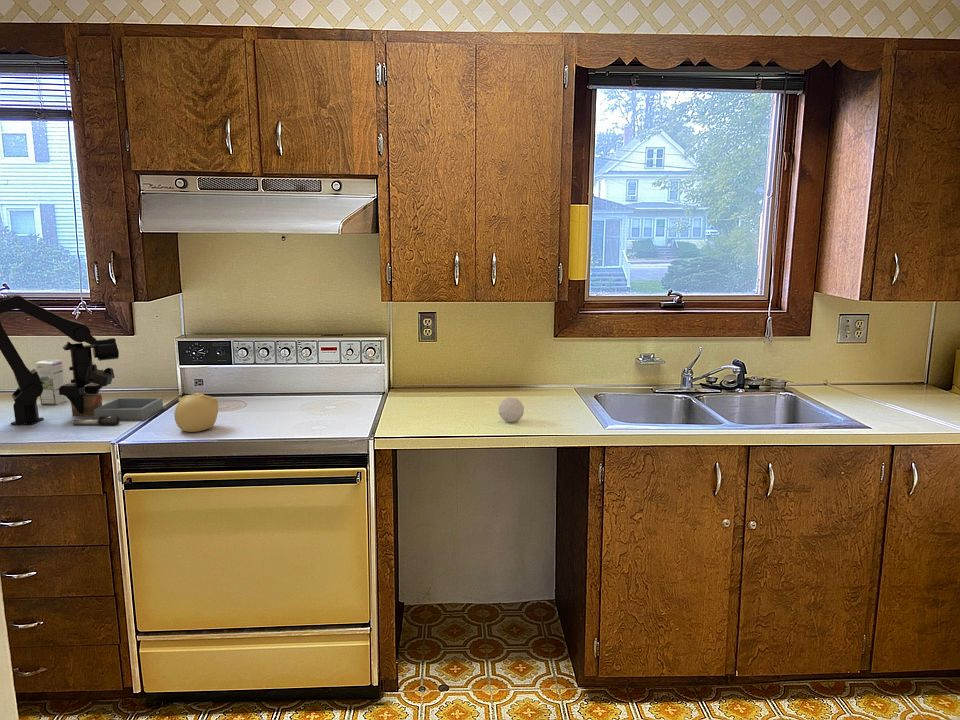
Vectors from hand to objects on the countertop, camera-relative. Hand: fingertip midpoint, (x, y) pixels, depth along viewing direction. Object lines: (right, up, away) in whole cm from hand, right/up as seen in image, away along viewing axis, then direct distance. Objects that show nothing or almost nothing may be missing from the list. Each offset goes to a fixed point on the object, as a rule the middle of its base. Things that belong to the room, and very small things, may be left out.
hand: (87, 410), depth 224 cm
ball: (+135, -3, -10) cm, 135 cm away
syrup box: (-19, +1, +14) cm, 24 cm away
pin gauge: (+10, -3, -12) cm, 16 cm away
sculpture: (+42, -5, -17) cm, 46 cm away
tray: (+14, -1, -1) cm, 14 cm away
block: (0, -1, 0) cm, 1 cm away
